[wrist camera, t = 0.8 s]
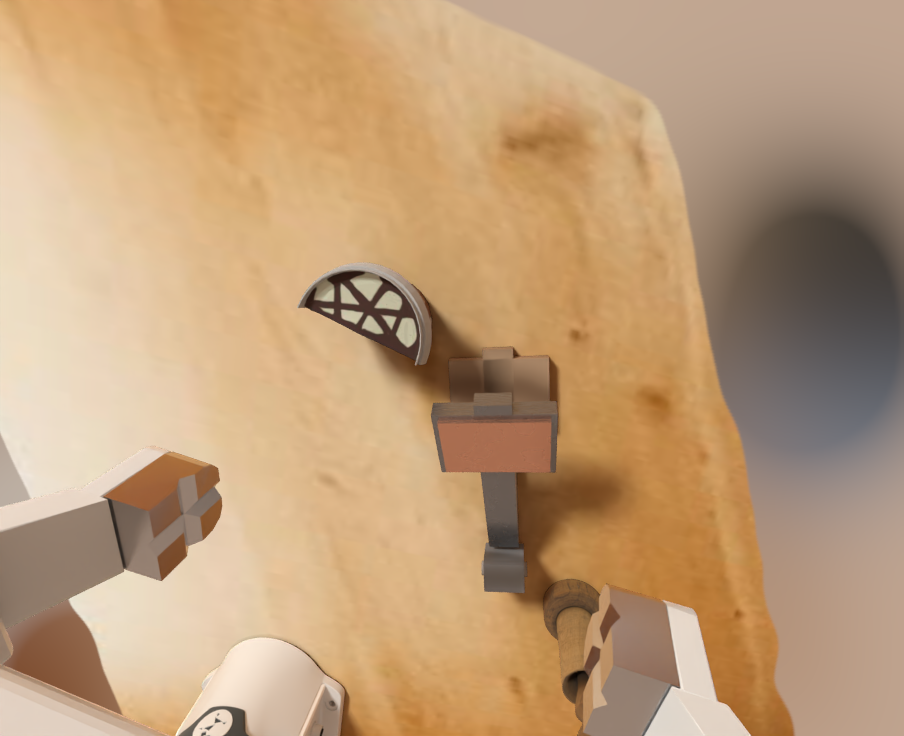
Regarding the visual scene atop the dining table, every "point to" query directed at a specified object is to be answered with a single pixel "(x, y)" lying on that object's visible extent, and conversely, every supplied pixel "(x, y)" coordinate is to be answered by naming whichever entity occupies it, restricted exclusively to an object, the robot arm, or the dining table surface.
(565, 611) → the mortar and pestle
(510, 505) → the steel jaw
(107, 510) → the robot arm
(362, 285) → the food container
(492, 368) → the walnut jaw
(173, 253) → the dining table surface
